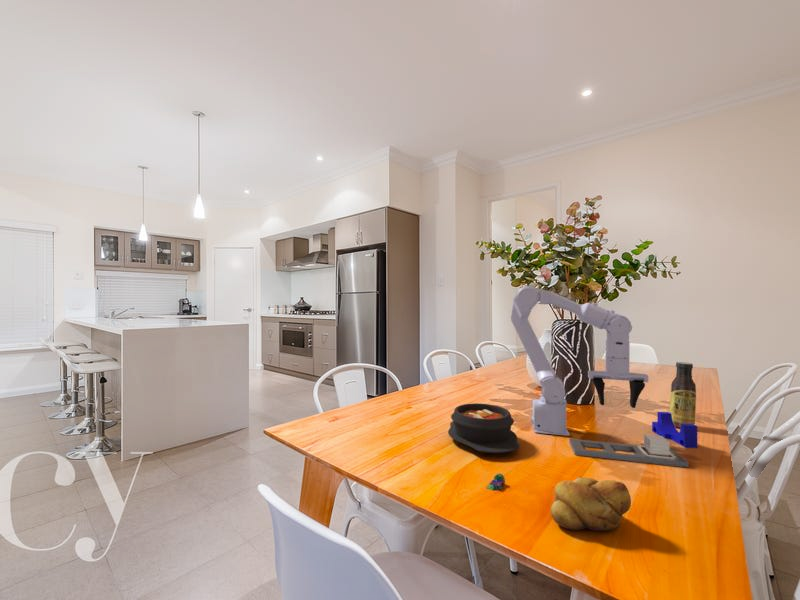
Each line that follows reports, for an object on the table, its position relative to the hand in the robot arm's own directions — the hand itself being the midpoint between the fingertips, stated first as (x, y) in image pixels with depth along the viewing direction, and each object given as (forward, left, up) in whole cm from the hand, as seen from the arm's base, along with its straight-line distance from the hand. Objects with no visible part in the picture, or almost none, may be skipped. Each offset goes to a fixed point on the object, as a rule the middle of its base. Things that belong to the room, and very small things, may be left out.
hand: (617, 405), depth 100 cm
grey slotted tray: (-1, -11, -9) cm, 15 cm away
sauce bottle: (+23, +17, -10) cm, 30 cm away
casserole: (-36, -12, -10) cm, 40 cm away
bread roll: (-17, -44, -10) cm, 48 cm away
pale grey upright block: (+6, -11, -9) cm, 16 cm away
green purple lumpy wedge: (-32, -36, -10) cm, 49 cm away
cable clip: (+15, +4, -10) cm, 19 cm away
